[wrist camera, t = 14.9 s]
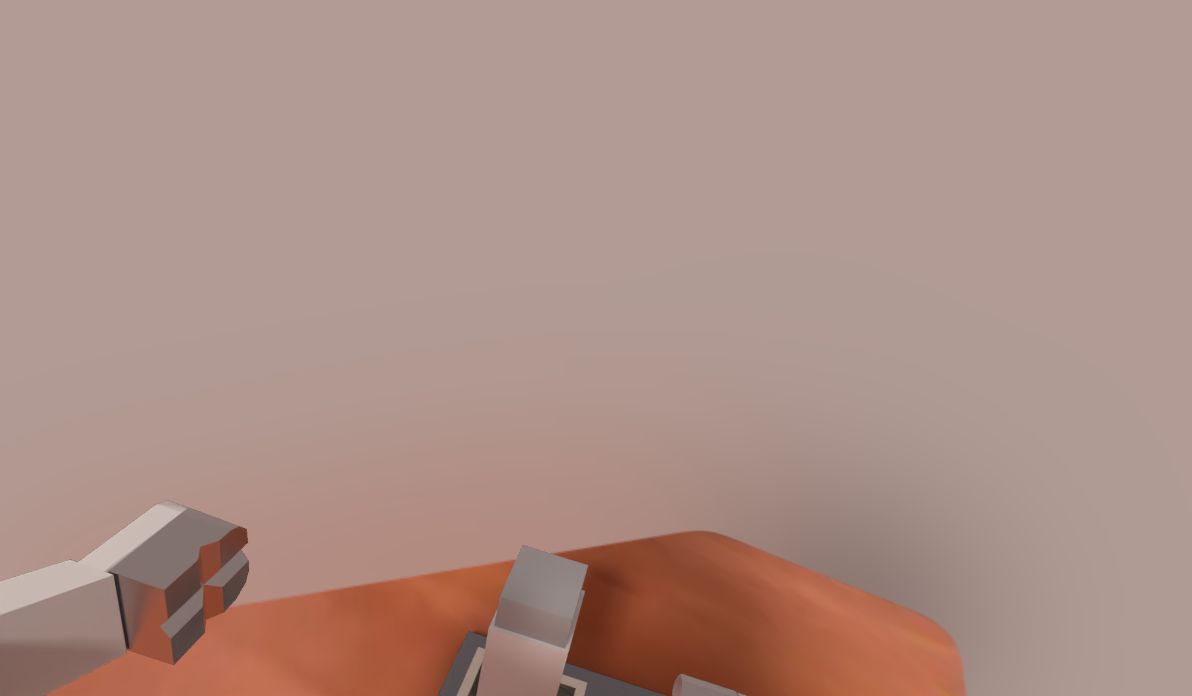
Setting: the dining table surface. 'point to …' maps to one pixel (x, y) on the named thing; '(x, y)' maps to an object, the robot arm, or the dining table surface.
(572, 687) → the panel
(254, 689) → the dining table surface
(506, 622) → the plug
